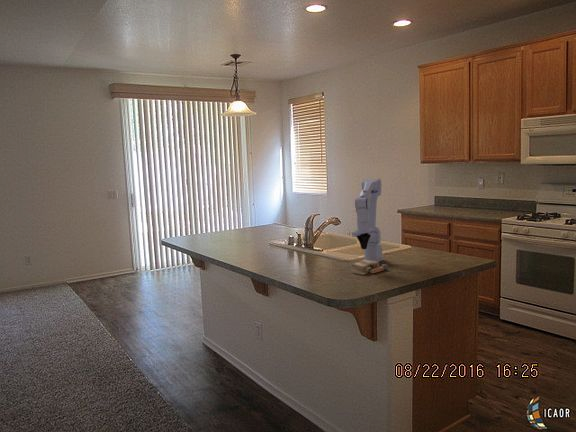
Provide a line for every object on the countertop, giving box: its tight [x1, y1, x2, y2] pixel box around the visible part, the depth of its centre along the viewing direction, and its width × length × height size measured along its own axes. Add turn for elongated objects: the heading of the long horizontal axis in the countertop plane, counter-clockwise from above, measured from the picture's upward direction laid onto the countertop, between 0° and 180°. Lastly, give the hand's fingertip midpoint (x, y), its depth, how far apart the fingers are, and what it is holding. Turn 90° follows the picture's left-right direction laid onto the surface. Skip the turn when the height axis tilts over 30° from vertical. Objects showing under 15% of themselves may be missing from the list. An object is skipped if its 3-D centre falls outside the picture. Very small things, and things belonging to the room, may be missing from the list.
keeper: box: [369, 263, 388, 274], centre depth 230 cm, size 11×3×2 cm, turn 129°
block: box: [351, 260, 380, 276], centre depth 233 cm, size 12×7×4 cm, turn 131°
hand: (364, 248), depth 238 cm, fingers closed
